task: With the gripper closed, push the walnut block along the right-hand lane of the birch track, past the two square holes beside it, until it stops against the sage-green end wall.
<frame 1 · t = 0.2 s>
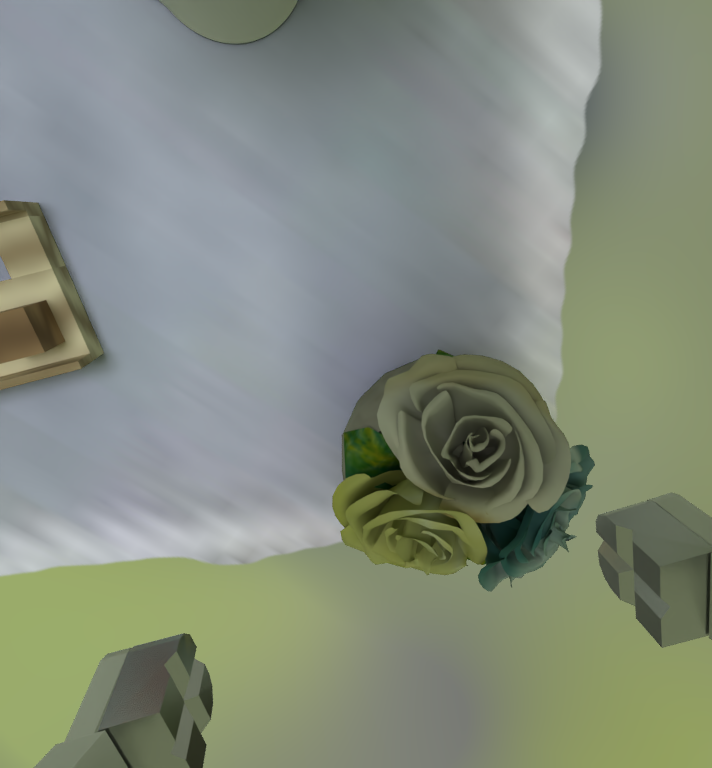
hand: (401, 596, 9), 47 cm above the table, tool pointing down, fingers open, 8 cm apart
flower arrangement: (416, 419, 61), on the table
walnut block: (34, 326, 49), point 3 cm above the table, touching trap track
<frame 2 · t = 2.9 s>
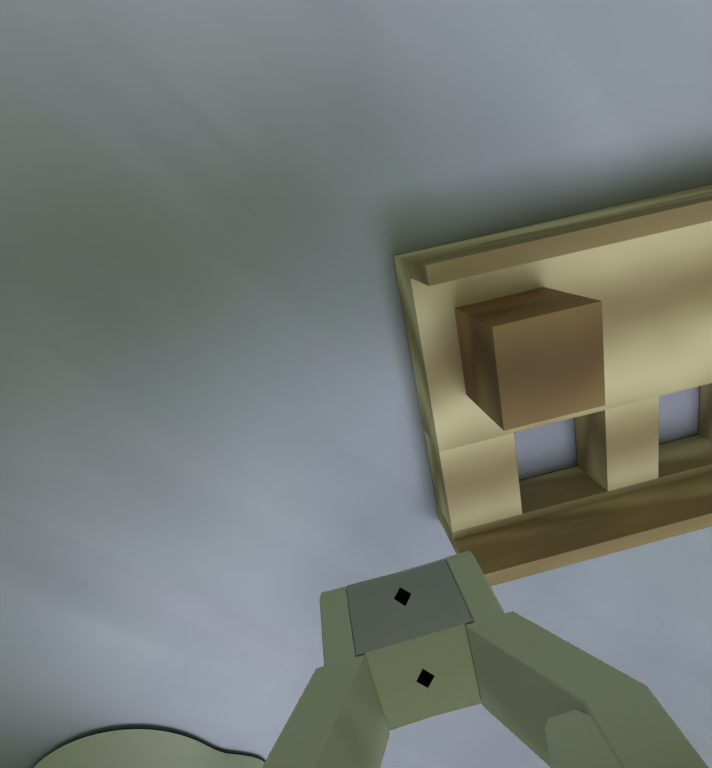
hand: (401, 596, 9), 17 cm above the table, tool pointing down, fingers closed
trap track: (612, 353, 28), on the table
walnut block: (504, 342, 23), point 3 cm above the table, touching trap track
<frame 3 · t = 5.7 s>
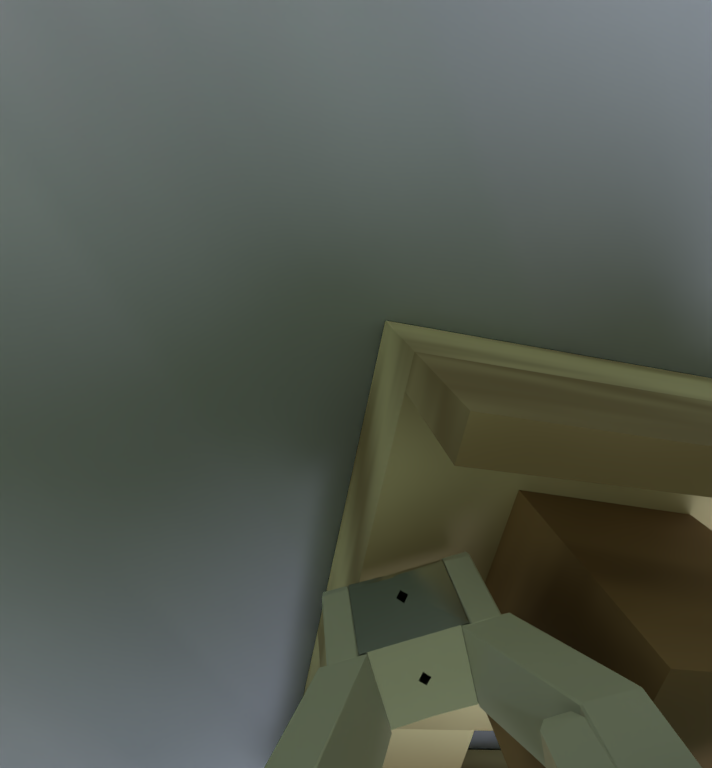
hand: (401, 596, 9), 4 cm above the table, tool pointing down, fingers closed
trap track: (662, 609, 16), on the table
walnut block: (573, 582, 11), point 3 cm above the table, touching gripper, trap track
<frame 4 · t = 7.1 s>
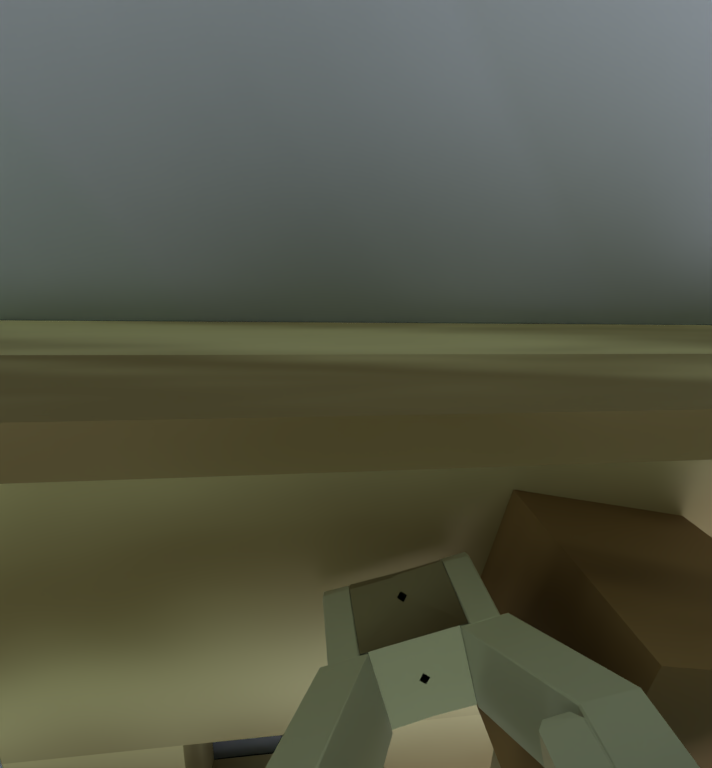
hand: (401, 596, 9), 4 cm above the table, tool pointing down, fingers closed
trap track: (451, 580, 15), on the table
walnut block: (566, 582, 11), point 3 cm above the table, touching gripper, trap track
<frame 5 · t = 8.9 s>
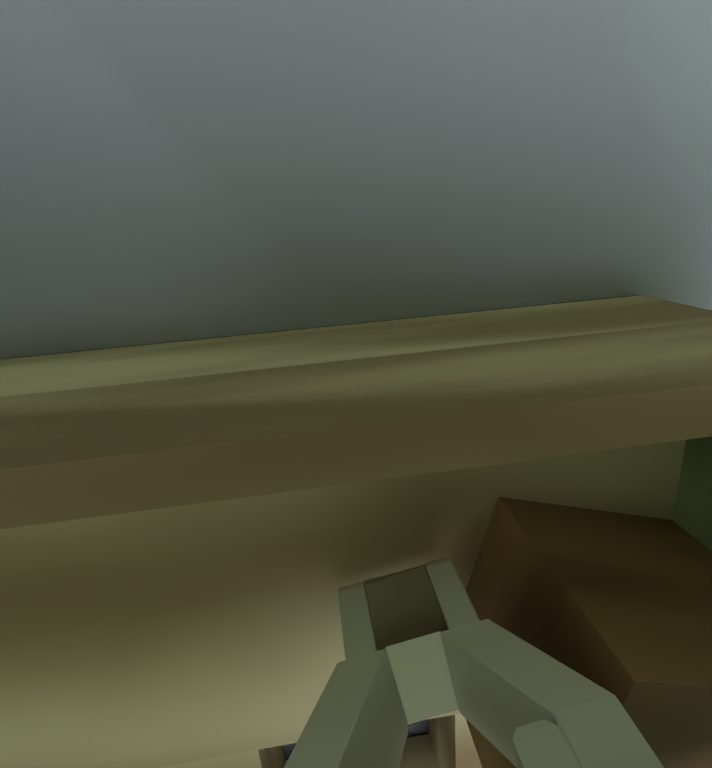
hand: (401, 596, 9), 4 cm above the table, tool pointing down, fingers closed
trap track: (239, 606, 14), on the table
walnut block: (555, 588, 11), point 3 cm above the table, touching gripper, trap track
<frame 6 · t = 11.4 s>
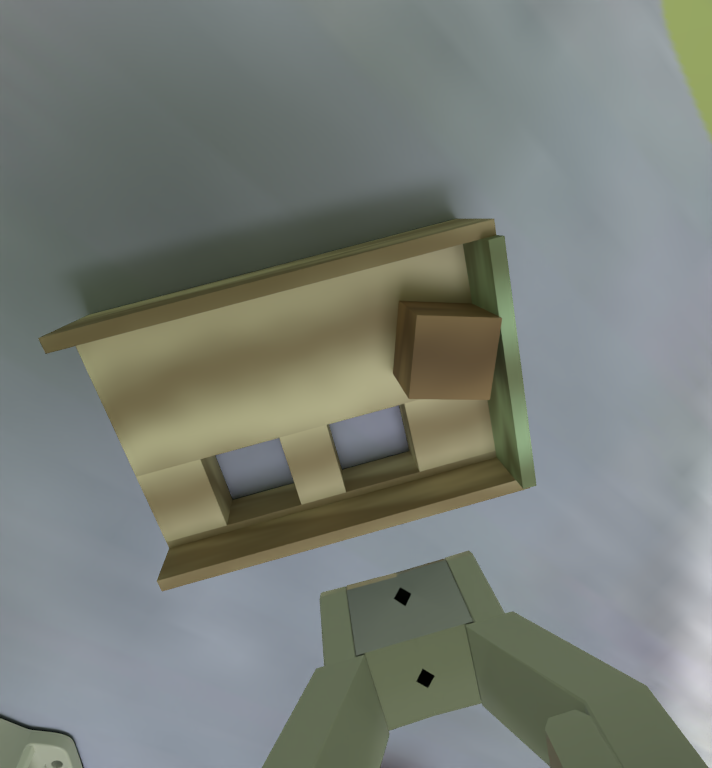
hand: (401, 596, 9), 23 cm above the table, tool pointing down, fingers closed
trap track: (309, 386, 32), on the table
walnut block: (431, 339, 29), point 3 cm above the table, touching trap track
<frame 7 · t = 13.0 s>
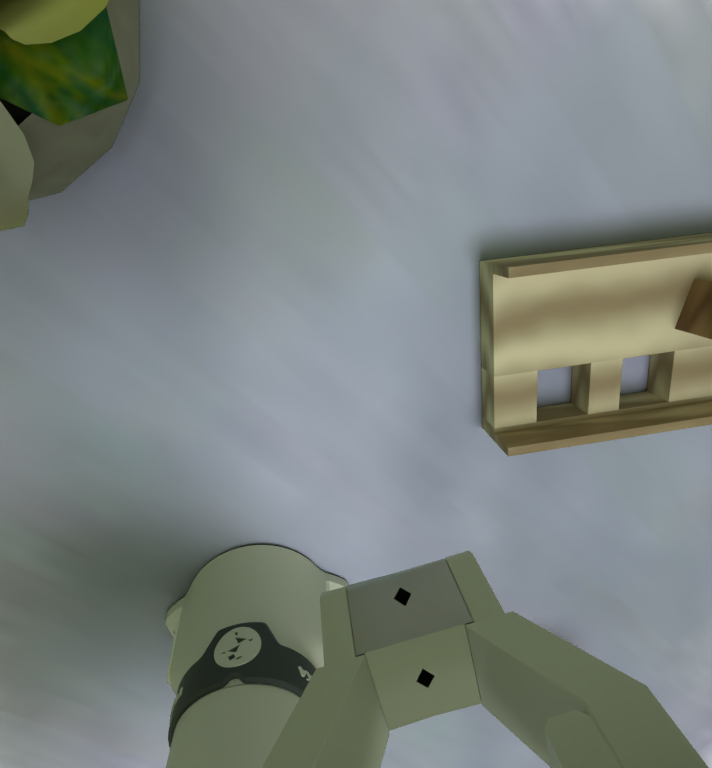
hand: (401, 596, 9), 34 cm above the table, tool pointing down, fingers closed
trap track: (598, 333, 45), on the table
flower arrangement: (20, 50, 33), on the table
walnut block: (705, 308, 43), point 3 cm above the table, touching trap track
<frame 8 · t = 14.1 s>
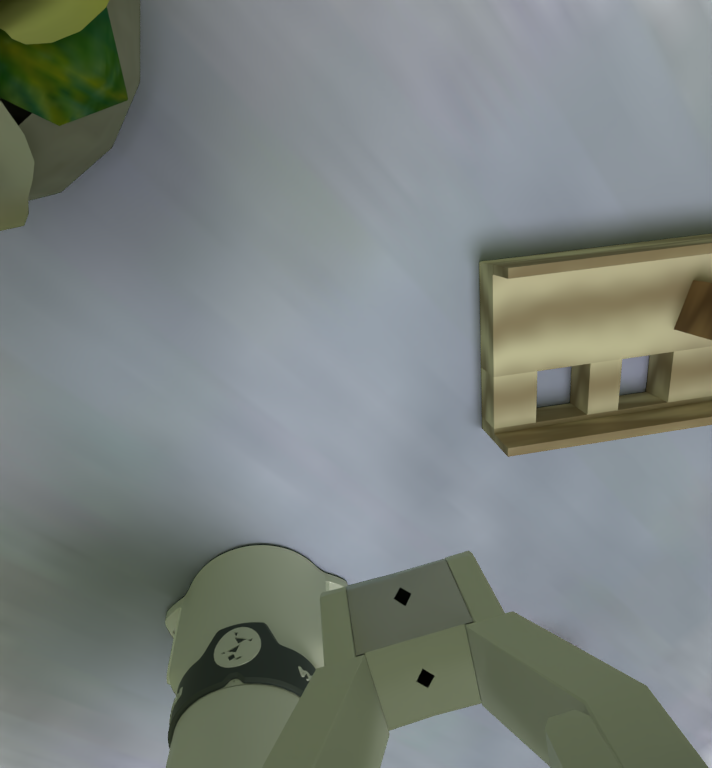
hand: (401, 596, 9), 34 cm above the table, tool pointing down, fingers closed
trap track: (598, 333, 46), on the table
flower arrangement: (21, 51, 33), on the table
walnut block: (704, 309, 43), point 3 cm above the table, touching trap track
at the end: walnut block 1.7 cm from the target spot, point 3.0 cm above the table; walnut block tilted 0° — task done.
